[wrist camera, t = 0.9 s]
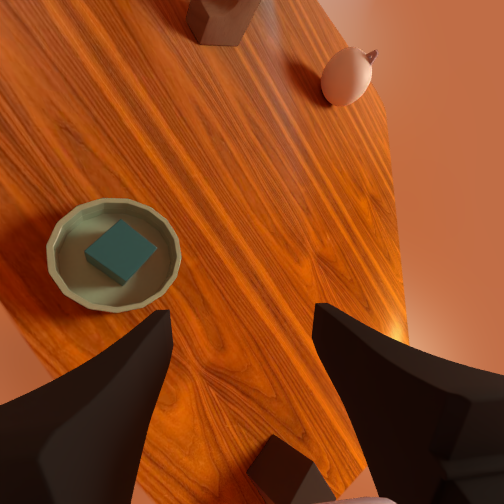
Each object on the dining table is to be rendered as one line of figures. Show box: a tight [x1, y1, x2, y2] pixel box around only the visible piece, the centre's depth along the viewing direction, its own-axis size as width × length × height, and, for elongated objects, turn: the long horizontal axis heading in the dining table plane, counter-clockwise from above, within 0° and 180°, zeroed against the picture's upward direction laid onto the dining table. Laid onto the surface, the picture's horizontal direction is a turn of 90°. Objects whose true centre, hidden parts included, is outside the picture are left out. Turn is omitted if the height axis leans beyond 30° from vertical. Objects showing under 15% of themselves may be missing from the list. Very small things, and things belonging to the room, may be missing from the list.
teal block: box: [84, 219, 157, 286], centre depth 23 cm, size 4×4×4 cm
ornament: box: [321, 47, 379, 106], centre depth 51 cm, size 10×10×12 cm
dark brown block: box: [246, 434, 336, 504], centre depth 26 cm, size 5×5×7 cm
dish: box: [46, 198, 181, 313], centre depth 24 cm, size 11×11×4 cm
